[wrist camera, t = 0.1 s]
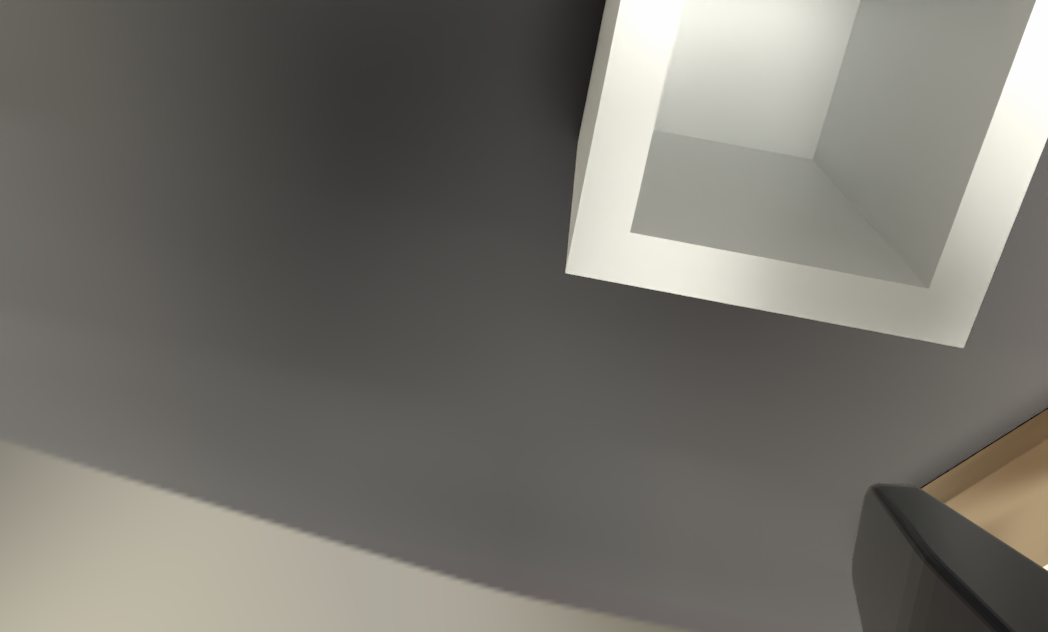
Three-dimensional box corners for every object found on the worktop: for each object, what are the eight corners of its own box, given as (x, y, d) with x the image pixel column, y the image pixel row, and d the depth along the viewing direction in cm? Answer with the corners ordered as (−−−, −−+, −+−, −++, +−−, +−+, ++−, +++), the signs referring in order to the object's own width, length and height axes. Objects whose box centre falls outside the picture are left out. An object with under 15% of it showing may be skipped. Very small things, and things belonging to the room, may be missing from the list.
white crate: (827, 188, 22) (963, 348, 14) (578, 141, 22) (565, 272, 14) (911, -83, 20) (1137, -87, 11) (632, -136, 20) (656, -177, 11)
